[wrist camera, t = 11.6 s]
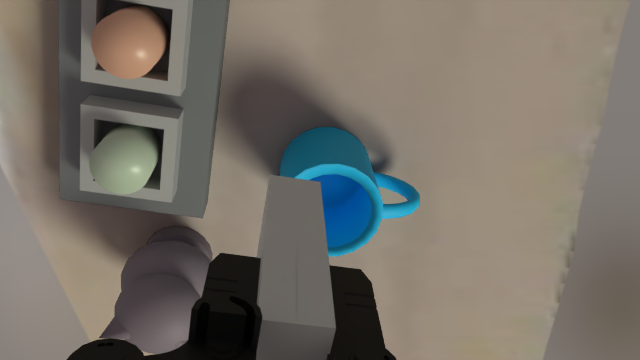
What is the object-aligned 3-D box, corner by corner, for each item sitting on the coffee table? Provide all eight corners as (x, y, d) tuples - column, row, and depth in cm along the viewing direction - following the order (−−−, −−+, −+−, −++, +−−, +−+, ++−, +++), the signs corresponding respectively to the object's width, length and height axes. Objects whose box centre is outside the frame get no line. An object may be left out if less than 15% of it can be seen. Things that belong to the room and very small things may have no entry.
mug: (275, 204, 53) (272, 251, 46) (285, 121, 50) (284, 157, 43) (401, 218, 55) (419, 266, 47) (420, 137, 51) (441, 175, 44)
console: (72, -211, 39) (41, -228, 34) (249, -173, 41) (243, -185, 36) (71, 183, 52) (48, 212, 47) (207, 202, 53) (198, 232, 48)
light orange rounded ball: (109, -1, 42) (91, 8, 38) (171, 10, 42) (159, 20, 38) (107, 59, 43) (90, 73, 40) (166, 69, 44) (155, 83, 40)
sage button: (105, 117, 45) (89, 135, 42) (162, 126, 46) (151, 144, 42) (104, 168, 47) (88, 189, 43) (159, 176, 48) (148, 198, 44)
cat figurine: (233, 231, 54) (219, 311, 43) (214, 297, 57) (196, 387, 47) (142, 208, 53) (104, 285, 42) (127, 277, 56) (88, 366, 45)
